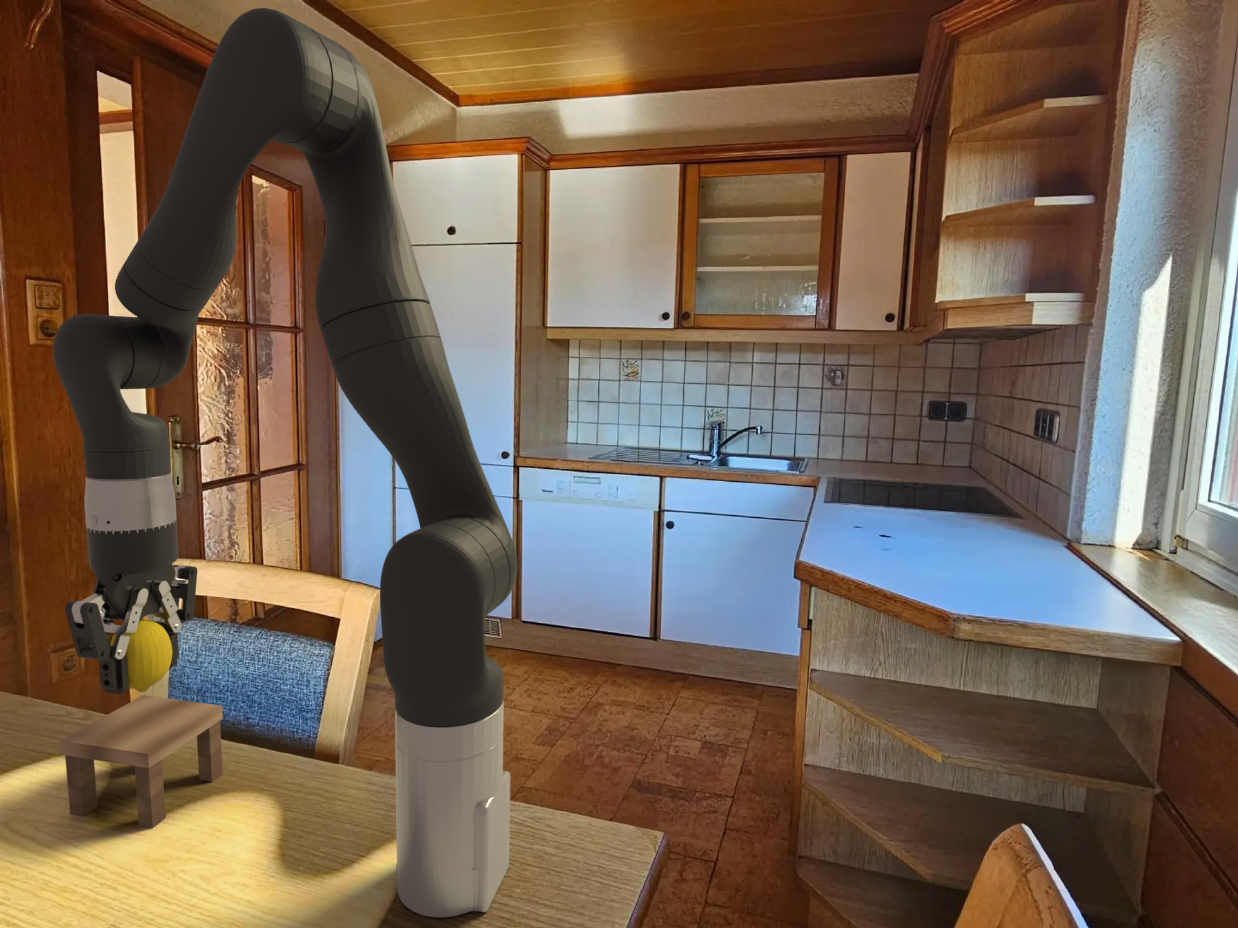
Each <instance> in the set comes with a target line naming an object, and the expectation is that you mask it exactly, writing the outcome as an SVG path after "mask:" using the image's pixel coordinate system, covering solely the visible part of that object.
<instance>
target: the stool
mask: <svg viewBox="0 0 1238 928" xmlns="http://www.w3.org/2000/svg"><path fill="white" fill-rule="evenodd" d="M223 715H224V713H223V705H218V704H211V703H205V702H196V701H190V700H189V701H188V700H181V699H176V698H175V699H174V698H168V697H167V698H166V697H160V696H152V695H151V696H150V695H145V694H144V695H141V696H139V697H138V698H135V699H134V700H132V701H130V702H129V703H126V704H125V705H123V706H121V707H119V708H117V709H116V710H114V711H112V712H110V713H108V714H107V715H105V716H103V717H101V718H99V719H97V720H96V721H93V722H92V723H90V724H88V725H86V726H84V727H83V728H81V729H79V730H77V731H75V732H73V733H71V734H70V735H68V736H66V737H64V738H62V739H61V740H59V742H60V743H59V744H60V752H61V753H60V754H61V756H65V757H64V758H65V768H66V772H65V773H66V779H67V780H66V782H67V784H66V785H67V791H68V792H67V793H68V806H69V814H70V815H73V816H74V815H75V816H81V817H84V816H86V815H88V814H89V813H90V812H92V811H93V810H95V809H96V808H98V807H99V806H98V805H99V804H98V794H97V793H98V791H97V781H96V769H95V767H96V766H95V761H101V762H105V763H106V762H107V763H112V764H113V763H114V764H118V765H119V764H120V765H126V766H132V767H134V776H135V789H136V791H135V793H136V803H137V805H136V806H137V819H138V826H139V827H145V828H150V829H153V828H155V827H157V826H158V825H159V824H160V823H161V822H163V821H164V820H165V819H166V802H165V788H164V787H165V785H164V772H163V771H164V770H163V759H165V758H166V757H168V756H170V755H171V754H172V753H174V752H175V751H177V750H178V749H179V748H181V747H183V746H184V745H186V744H187V743H189V742H190V741H192V740H193V739H195V738H196V744H197V746H196V747H197V760H198V761H197V762H198V766H197V767H198V779H199V781H202V782H203V781H204V782H210V783H213V782H214V781H216V780H217V779H218V778H219V777H220V776H222V775H223V774H224V772H223V756H222V735H221V734H222V733H221V721H222V720H223V719H224V718H223V717H224V716H223Z"/></svg>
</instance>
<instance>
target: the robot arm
mask: <svg viewBox="0 0 1238 928" xmlns="http://www.w3.org/2000/svg"><path fill="white" fill-rule="evenodd" d="M203 79H204V80H203V82H202V85H201V87H200V90H199V93H198V96H197V100H196V102H195V105H194V107H193V110H192V112H191V113H192V114H191V116H190V119H189V121H188V124H187V126H186V130H185V133H184V135H183V138H182V141H181V145H180V147H179V151H178V153H177V156H176V160H175V163H174V165H173V169H172V171H171V173H170V176H169V180H168V183H167V186H166V187H165V189H164V192H163V194H162V197H161V199H160V201H159V203H158V205H157V207H156V209H155V211H154V213H153V214H152V217H151V218H150V220H149V222H148V224H147V225H146V227H145V229H144V230H143V232H142V233H141V235H140V237H139V238H138V240H137V241H136V243H135V245H134V246H133V248H132V250H131V251H130V253H129V254H128V256H127V257H126V260H125V261H124V262H123V265H122V267H121V268H120V270H119V272H118V273H117V276H116V279H115V282H114V291H115V294H116V297H117V299H118V301H119V302H120V304H121V305H122V306H123V307H124V308H125V309H126V310H127V311H129V312H130V313H131V314H132V315H134V316H121V315H106V314H95V313H93V314H92V313H90V314H89V313H81V314H75V315H72V316H70V317H68V318H67V319H66V320H65V321H63V322H62V323H61V325H60V326H59V327H58V329H57V331H56V333H55V335H54V339H53V343H52V357H53V363H54V366H55V369H56V372H57V375H58V377H59V379H60V382H61V385H62V386H63V389H64V391H65V394H66V396H67V398H68V400H69V403H70V406H71V408H72V410H73V414H74V416H75V419H76V421H77V425H78V427H79V429H80V433H81V436H82V442H83V452H84V453H83V455H84V466H85V467H84V469H85V490H84V500H83V501H84V514H85V528H86V543H87V557H88V567H90V569H91V570H92V571H93V572H94V574H95V577H96V582H95V586H94V588H93V593H92V595H89V596H88V597H86V598H84V599H82V600H69V601H67V603H66V604H65V607H64V613H65V615H66V619H67V622H68V623H67V624H68V627H69V630H70V634H71V636H72V641H73V644H74V647H75V653H76V655H77V657H78V658H82V659H88V660H89V659H90V660H96V661H97V660H98V662H99V663H98V664H99V675H100V677H99V678H100V686H101V688H102V690H104V691H105V693H108V694H115V695H122V694H124V693H126V692H128V691H129V690H130V688H129V677H128V662H127V656H125V654H126V650H127V646H128V643H129V639H130V636H131V635H133V634H134V633H135V632H136V630H137V626H138V622H139V620H141V619H142V618H143V619H144V618H145V617H147V618H148V620H150V621H153V622H156V623H158V624H159V625H161V626H162V627H163V628H164V629H165V630H166V632H167V634H168V636H169V638H170V641H171V645H172V660H171V664H170V667H169V669H171V668H172V669H173V668H174V667H176V666H177V665H178V658H179V655H180V652H179V632H180V630H181V629H182V625H183V624H184V623H185V622H191V621H192V619H193V618H194V617H195V616H194V615H195V604H196V594H197V593H196V591H197V581H198V568H197V567H196V566H190V565H184V564H174V563H175V562H177V560H178V559H179V541H178V540H179V539H178V521H177V501H176V493H175V488H174V484H173V477H172V473H171V472H172V468H171V467H172V465H171V451H170V450H171V449H170V448H171V447H170V435H169V429H168V425H167V423H166V421H164V419H162V418H161V417H159V416H156V415H153V414H149V413H143V412H142V413H141V412H134V411H132V410H131V409H130V407H129V406H128V404H127V402H126V401H125V399H124V397H123V394H122V392H121V390H144V389H145V390H147V389H149V390H151V389H157V388H162V387H164V386H167V385H168V384H170V383H172V382H173V381H175V379H177V378H178V377H179V376H180V375H181V374H182V372H184V369H185V367H186V365H187V363H188V361H189V360H188V359H189V355H190V351H191V348H192V347H191V346H192V344H193V339H194V335H195V332H196V328H197V323H198V320H199V315H200V313H201V312H203V309H204V308H205V306H206V305H207V304H208V302H209V301H210V299H211V298H212V297H213V295H214V293H215V292H216V291H217V289H218V288H219V286H220V284H221V283H222V281H224V278H225V276H226V275H227V274H228V271H229V269H230V268H231V265H232V263H233V260H234V256H235V253H236V248H237V235H238V229H237V228H238V223H237V222H238V220H237V211H238V210H237V209H238V207H237V205H238V195H239V191H240V187H241V183H242V181H243V178H244V176H245V175H246V172H247V171H248V169H249V167H250V166H251V164H252V163H253V162H254V161H255V159H256V158H257V156H258V155H259V154H260V153H261V152H262V151H263V149H264V148H265V147H266V146H267V145H268V144H269V143H270V142H271V141H273V142H277V143H279V144H283V145H286V146H289V147H291V148H294V149H298V150H300V151H301V153H302V154H303V156H304V158H305V159H306V162H307V164H308V166H309V168H310V171H311V173H312V176H313V179H314V182H315V185H316V188H317V191H318V195H319V198H320V202H321V204H322V209H323V213H324V222H325V236H324V241H323V249H322V253H321V257H320V261H319V266H318V272H317V276H316V283H315V293H314V304H315V307H314V308H315V312H316V317H317V322H318V325H319V328H320V330H321V335H322V339H323V341H324V344H325V347H326V351H327V354H328V357H329V361H330V364H331V366H332V370H333V372H334V375H335V378H336V380H337V383H338V384H339V387H340V389H341V391H342V393H343V394H344V396H345V397H346V399H347V400H348V401H349V403H350V405H351V406H352V408H353V409H354V411H355V412H356V413H357V414H358V415H359V417H360V418H361V419H362V421H363V422H364V423H365V424H366V425H367V427H368V428H369V430H371V432H372V433H373V434H374V435H375V437H376V438H377V439H378V440H379V441H380V442H381V444H382V445H383V446H384V448H385V449H386V450H387V452H389V454H390V455H391V457H393V459H394V461H395V463H396V464H397V466H398V469H399V470H400V472H401V474H402V475H403V477H404V479H405V482H406V485H407V488H408V490H409V493H410V496H411V499H412V502H413V506H414V508H415V512H416V513H415V514H416V516H417V520H418V525H419V528H418V529H416V530H414V531H411V532H409V533H407V534H405V535H404V536H402V537H401V538H399V539H398V540H397V541H396V542H395V543H393V545H392V546H391V547H390V549H389V551H388V552H387V554H386V556H385V559H384V561H383V565H382V570H381V573H380V580H379V584H380V585H379V605H380V620H381V621H380V623H381V636H382V637H381V639H382V649H383V650H382V651H383V652H382V653H383V663H384V671H385V675H386V678H387V680H388V682H389V684H390V686H391V688H392V691H393V694H394V729H395V730H394V732H395V733H394V735H395V736H394V740H395V741H394V742H395V743H394V747H395V748H394V749H395V751H394V752H395V758H394V759H395V810H396V811H395V817H396V818H395V819H396V820H395V822H396V823H395V825H396V827H395V828H396V829H395V830H396V831H395V834H396V838H395V839H396V865H395V867H396V868H395V869H396V882H397V883H396V887H397V895H398V898H399V899H400V901H401V903H402V904H404V906H405V907H406V908H407V909H408V910H411V911H412V912H414V913H415V914H418V915H421V916H425V917H431V918H450V917H457V916H460V915H463V914H466V913H470V912H481V913H485V912H488V910H489V908H490V905H491V904H492V901H493V900H494V898H495V896H496V894H497V892H498V890H499V888H500V885H501V883H502V882H503V879H504V877H505V875H506V873H507V871H508V870H509V867H510V841H511V840H510V837H511V836H510V831H511V830H510V827H511V826H510V825H511V773H510V772H509V771H506V770H503V769H504V703H505V701H504V697H505V695H504V694H505V680H504V679H505V677H504V672H503V669H502V667H501V665H500V664H499V663H498V662H497V661H495V659H493V658H491V657H489V656H487V655H486V636H485V634H486V632H485V630H486V629H485V617H486V616H487V615H489V614H491V612H493V611H494V610H496V609H497V608H498V607H500V605H501V604H503V603H504V602H505V601H506V600H507V599H508V597H509V595H510V594H511V593H512V591H513V589H514V587H515V585H516V581H517V578H518V577H517V575H518V564H519V563H518V558H517V557H518V556H517V552H516V548H515V547H516V546H515V544H514V541H513V539H512V536H511V533H510V531H509V528H508V526H507V524H506V521H505V519H504V517H503V514H502V511H501V510H500V508H499V505H498V503H497V500H496V498H495V496H494V493H493V490H492V489H491V487H490V484H489V481H488V479H487V477H486V475H485V472H484V470H483V467H482V465H481V462H480V460H479V457H478V455H477V452H476V450H475V446H474V444H473V443H474V442H473V440H472V437H471V434H470V430H469V427H468V423H467V419H466V417H465V413H464V410H463V407H462V403H461V401H460V400H461V399H460V397H459V395H458V394H459V393H458V391H457V388H456V384H455V381H454V379H453V376H452V375H453V374H452V373H451V369H450V366H449V362H448V359H447V355H446V352H445V348H444V344H443V340H442V336H441V333H440V330H439V327H438V324H437V320H436V317H435V314H434V312H433V311H434V310H433V308H432V305H431V301H430V298H429V295H428V292H427V290H426V288H425V285H424V282H423V280H422V276H421V273H420V270H419V267H418V264H417V259H416V256H415V253H414V250H413V246H412V242H411V238H410V236H409V232H408V229H407V225H406V221H405V218H404V215H403V213H402V210H401V206H400V203H399V200H398V197H397V196H398V195H397V191H396V189H395V188H396V187H395V183H394V179H393V174H392V170H391V164H390V159H389V154H388V149H387V144H386V140H385V134H384V129H383V125H382V123H383V122H382V119H381V115H380V110H379V105H378V102H377V97H376V93H375V90H374V87H373V84H372V81H371V79H370V77H369V75H368V73H367V71H366V69H365V67H364V65H363V64H362V63H361V62H360V61H359V59H358V58H357V56H355V55H354V54H353V52H351V50H349V49H348V48H346V47H344V46H343V45H342V44H340V43H338V42H336V41H335V40H334V39H331V38H329V37H327V36H326V35H324V34H323V33H321V32H319V31H317V30H315V29H313V28H311V27H309V25H306V24H304V23H302V22H301V21H299V20H298V19H296V18H294V17H292V16H290V15H288V14H286V13H284V12H281V11H279V10H277V9H274V8H268V7H260V8H251V10H250V9H249V10H248V11H245V12H243V13H241V14H240V15H239V16H238V17H237V18H236V19H235V20H234V21H233V22H232V23H231V24H230V25H229V26H228V28H227V29H226V31H225V32H224V34H223V36H222V37H221V39H220V41H219V43H218V45H217V47H216V49H215V51H214V54H213V56H212V57H211V60H210V63H209V65H208V68H207V71H206V74H205V76H204V78H203ZM180 599H182V608H179V607H180ZM114 620H116V621H119V622H120V621H121V622H123V623H122V624H121V625H118V624H115V623H114ZM114 634H116V639H115V642H114V645H110V644H111V641H112V637H113V636H114Z"/></svg>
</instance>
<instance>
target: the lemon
mask: <svg viewBox="0 0 1238 928" xmlns="http://www.w3.org/2000/svg"><path fill="white" fill-rule="evenodd" d="M115 639H116V634H115V633H114V634H113V637H112V641H111V644H110V645H114V642H115ZM125 656H127V662H128V677H129V690H130V689H132V690H135V691H136V692H139V693H145V692H147V691H148V690H149V688H150V687H151V686H153V685H155V684H157V683H158V682H159V681H161V680H162V679H163V678H164V676H166V675H167V673H168V672H169V667H170V664H171V660H172V645H171V641H170V638H169V636H168V634H167V632H166V630H165V629H164V628H163V627H162V626H161V625H159V624H158V623H156V622H153V621H150V620H149V619H144V617H143V618H142V619H141V620H139V622H138V626H137V630H136V632H135V633H134V634H133V635H131V636H130V639H129V643H128V646H127V650H126V654H125Z"/></svg>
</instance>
